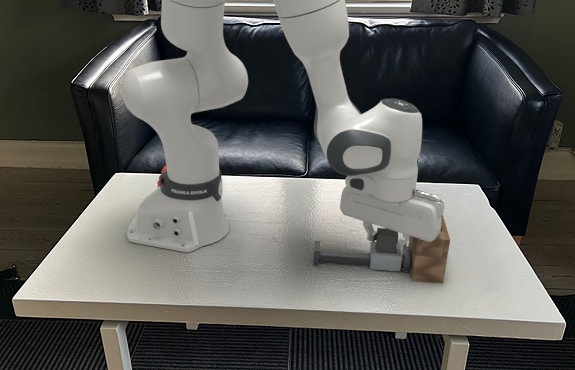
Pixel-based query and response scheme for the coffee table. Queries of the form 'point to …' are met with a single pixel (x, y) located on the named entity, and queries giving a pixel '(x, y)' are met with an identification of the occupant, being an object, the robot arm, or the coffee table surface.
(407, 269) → the rail
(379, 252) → the carriage
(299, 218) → the coffee table surface
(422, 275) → the wooden box with opening
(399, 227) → the robot arm
